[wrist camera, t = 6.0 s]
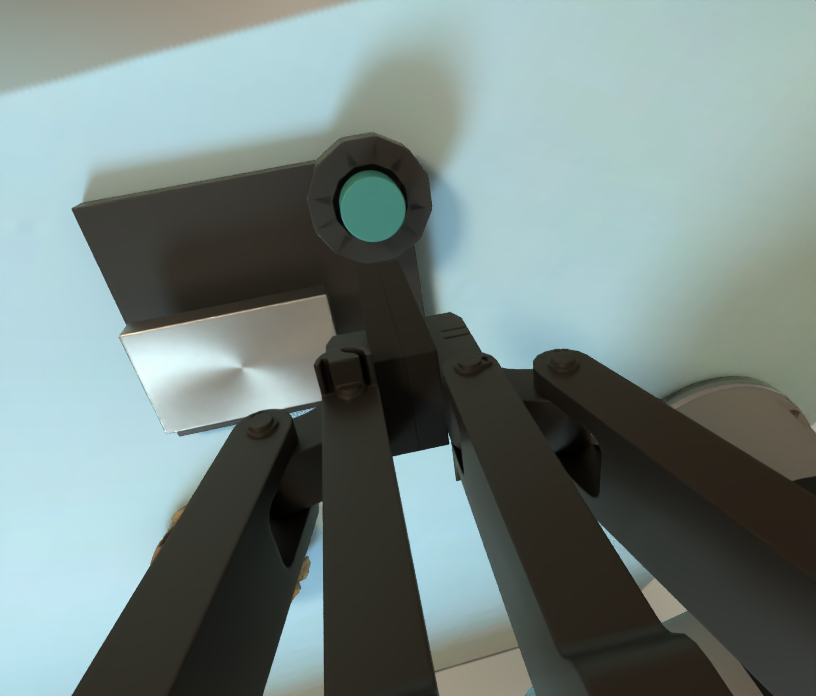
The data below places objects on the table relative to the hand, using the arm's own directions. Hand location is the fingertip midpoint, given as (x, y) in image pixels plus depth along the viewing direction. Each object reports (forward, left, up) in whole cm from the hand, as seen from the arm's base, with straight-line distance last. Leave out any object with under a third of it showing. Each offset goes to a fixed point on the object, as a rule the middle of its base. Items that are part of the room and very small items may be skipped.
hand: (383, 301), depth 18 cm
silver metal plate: (+7, +5, -9) cm, 12 cm away
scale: (+5, +4, -12) cm, 13 cm away
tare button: (-1, -1, -9) cm, 9 cm away
